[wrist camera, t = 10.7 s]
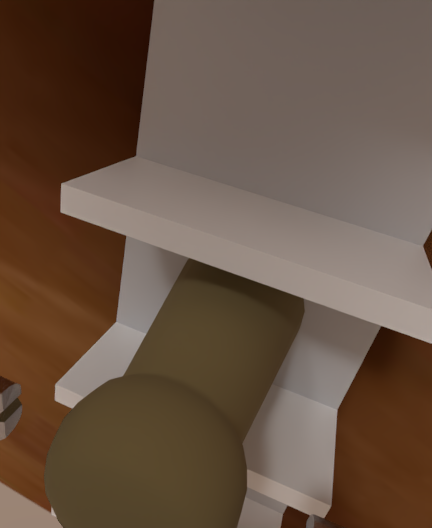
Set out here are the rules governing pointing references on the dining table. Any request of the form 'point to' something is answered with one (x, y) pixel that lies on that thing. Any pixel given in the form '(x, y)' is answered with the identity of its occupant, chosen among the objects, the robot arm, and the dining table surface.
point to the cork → (176, 411)
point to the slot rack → (277, 203)
